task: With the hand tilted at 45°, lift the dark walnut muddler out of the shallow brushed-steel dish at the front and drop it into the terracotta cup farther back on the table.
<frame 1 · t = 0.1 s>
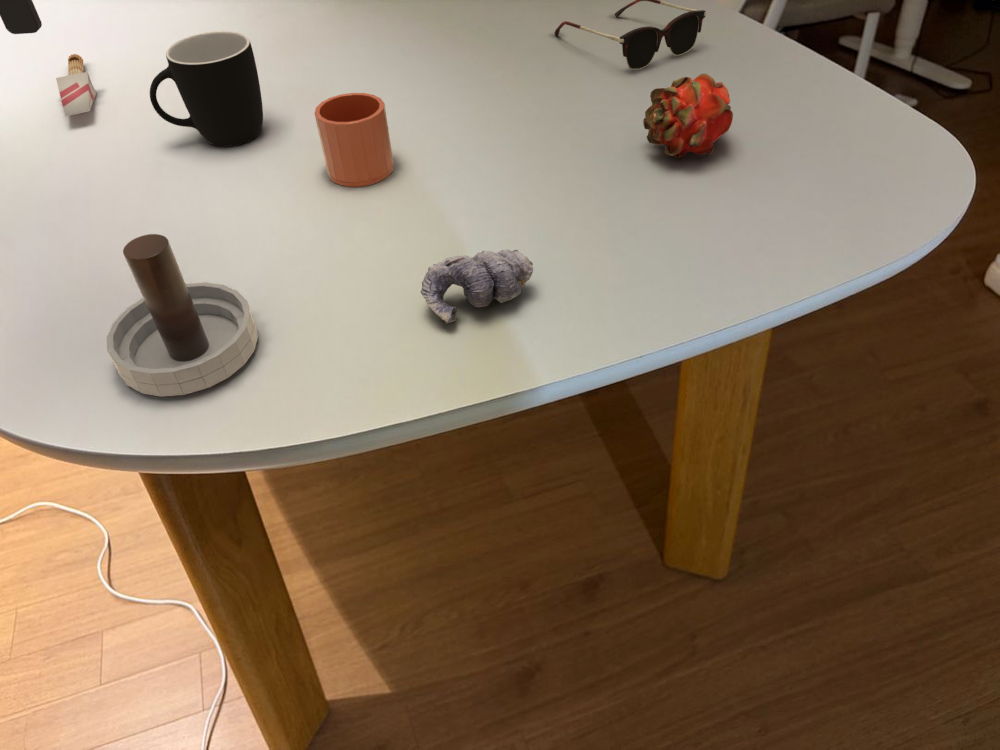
hand: (2, 56, 53), 23 cm above the table, tool pointing down, fingers open, 8 cm apart
sunglasses: (622, 44, 107), on the table
dragon fruit: (685, 148, 86), on the table
seashell: (481, 303, 69), on the table
muddler: (189, 348, 65), resting on dish
cup: (361, 169, 86), on the table
churro: (81, 96, 103), on the table
mug: (221, 138, 93), on the table
dish: (190, 352, 66), on the table
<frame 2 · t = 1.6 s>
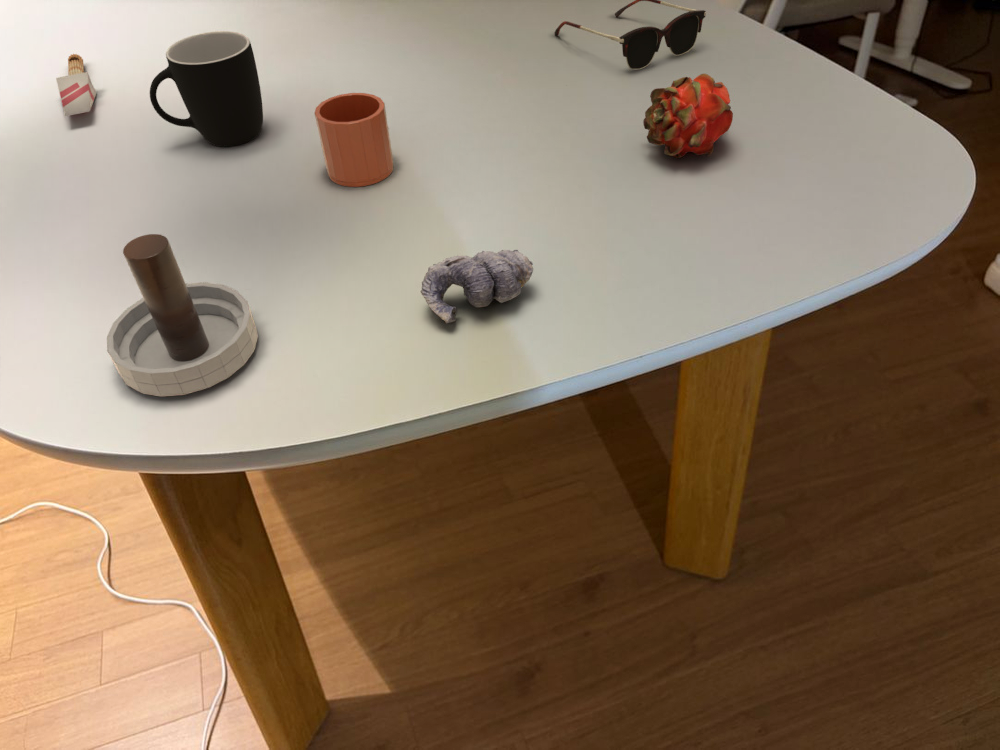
nothing on the table moved.
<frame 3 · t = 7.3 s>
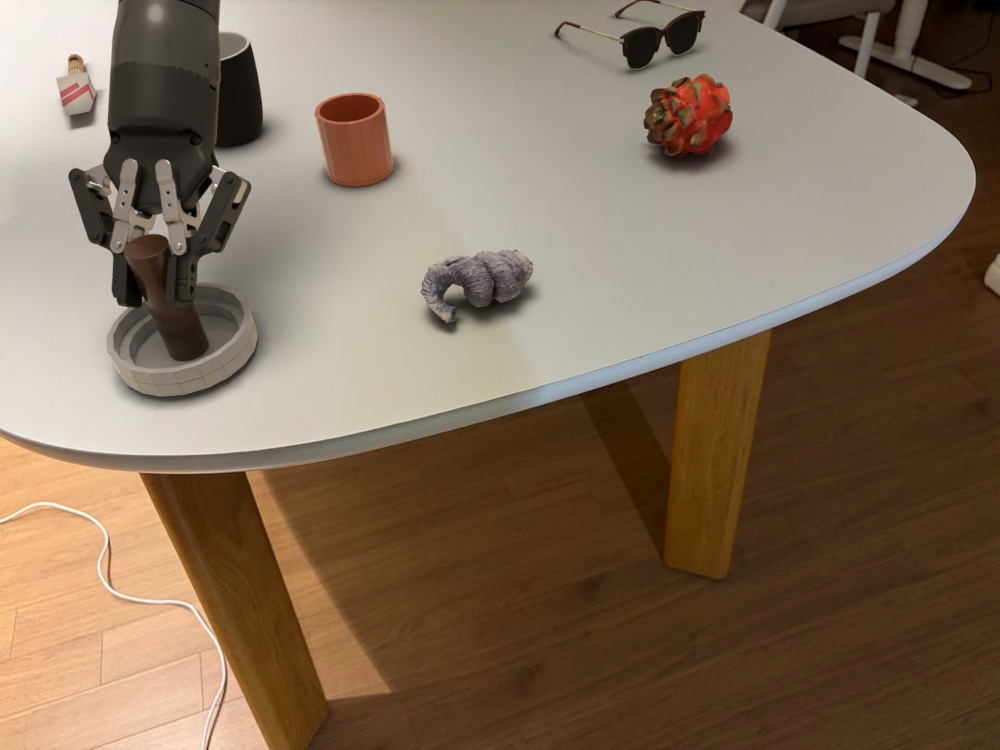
hand: (153, 306, 60), 6 cm above the table, tool tilted 45°, fingers closed on muddler, 3 cm apart
muddler: (189, 348, 65), point 1 cm above the table, touching dish, gripper
everything else where it was.
when the fingers open (10 cm above the table, at t = 18.4 s): muddler drops 4 cm, resting on cup.
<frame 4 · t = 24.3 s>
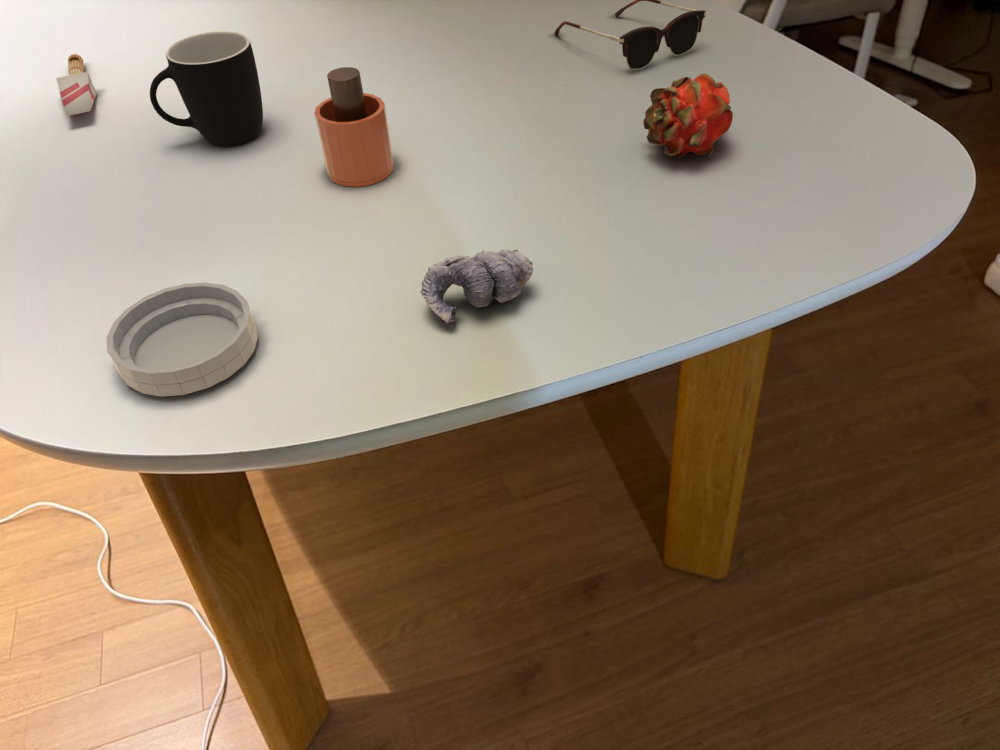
muddler: (360, 165, 86), resting on cup
everything else where it was.
at the end: muddler 0.0 cm off-centre in the cup, point 0.5 cm above the cup's base; muddler touching cup; the gripper is holding nothing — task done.
